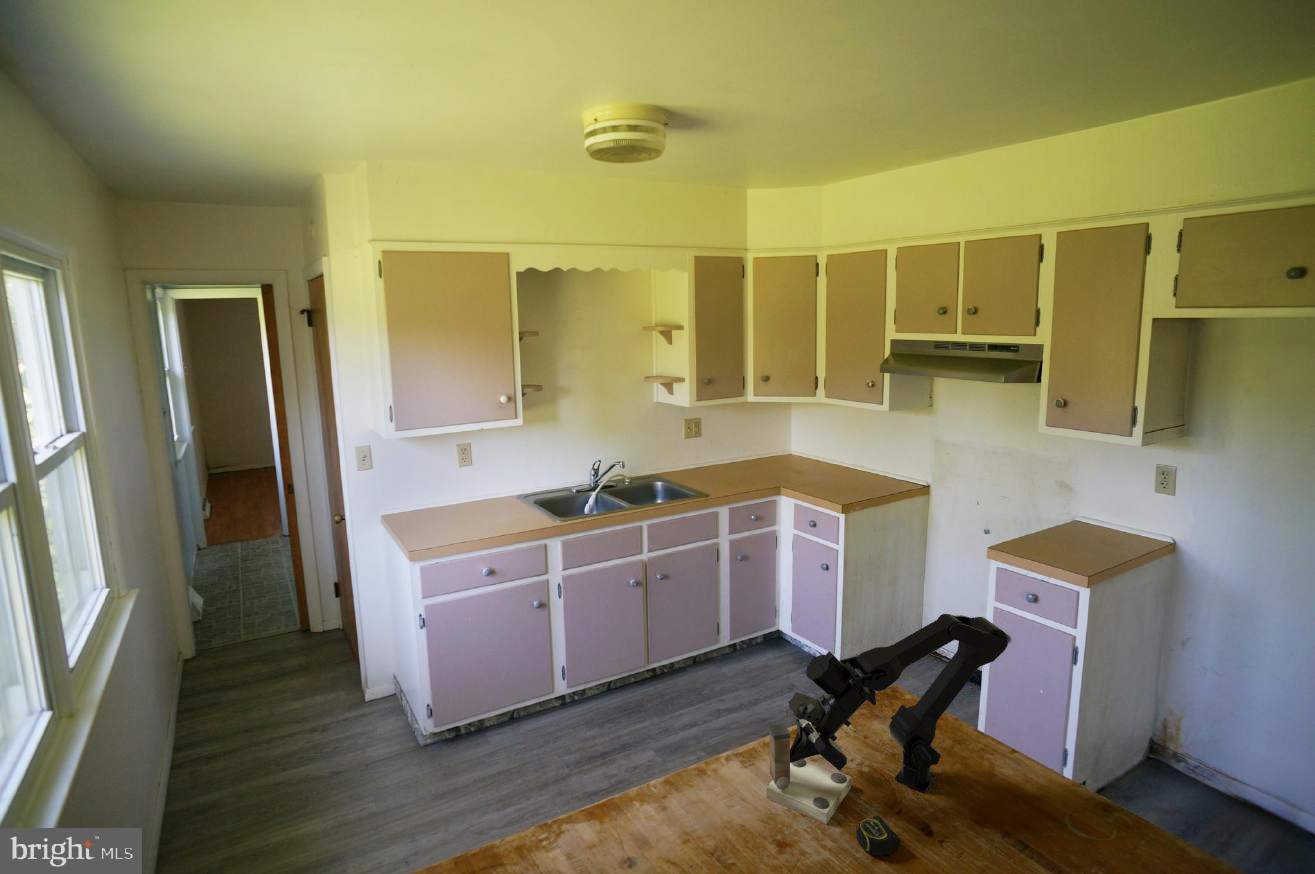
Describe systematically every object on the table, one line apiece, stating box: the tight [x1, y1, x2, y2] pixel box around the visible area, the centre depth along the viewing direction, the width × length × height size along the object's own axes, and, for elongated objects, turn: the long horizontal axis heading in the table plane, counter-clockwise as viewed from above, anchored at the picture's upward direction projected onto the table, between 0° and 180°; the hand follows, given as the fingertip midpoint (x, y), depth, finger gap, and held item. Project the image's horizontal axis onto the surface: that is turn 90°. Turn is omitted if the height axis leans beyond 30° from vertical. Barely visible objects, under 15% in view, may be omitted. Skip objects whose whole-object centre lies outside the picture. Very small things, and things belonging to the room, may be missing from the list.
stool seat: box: [765, 758, 852, 825], centre depth 144 cm, size 13×13×3 cm
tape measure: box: [855, 814, 902, 857], centre depth 130 cm, size 7×7×4 cm
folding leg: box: [768, 723, 791, 790], centre depth 142 cm, size 3×3×12 cm
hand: (788, 760), depth 142 cm, fingers closed, pressing on folding leg
